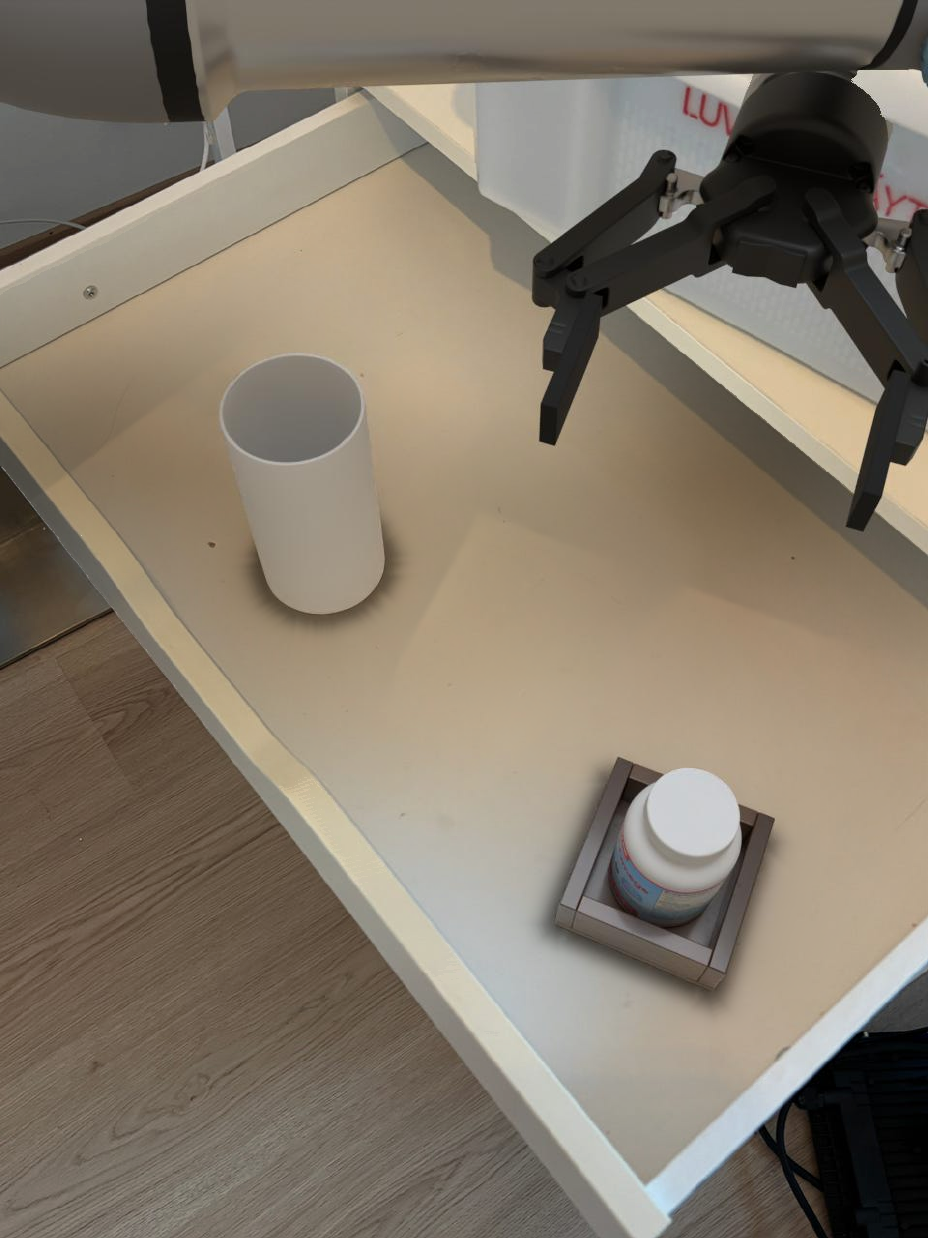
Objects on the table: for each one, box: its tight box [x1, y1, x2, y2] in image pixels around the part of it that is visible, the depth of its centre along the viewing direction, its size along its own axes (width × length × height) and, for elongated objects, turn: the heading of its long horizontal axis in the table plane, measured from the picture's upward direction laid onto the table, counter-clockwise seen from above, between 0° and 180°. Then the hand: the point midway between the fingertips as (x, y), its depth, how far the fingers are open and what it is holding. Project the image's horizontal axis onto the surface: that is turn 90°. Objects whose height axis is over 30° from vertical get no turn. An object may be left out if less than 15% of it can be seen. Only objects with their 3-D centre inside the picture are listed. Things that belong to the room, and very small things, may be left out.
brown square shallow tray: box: [554, 756, 776, 992], centre depth 65 cm, size 9×9×4 cm
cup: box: [218, 352, 386, 615], centre depth 71 cm, size 8×8×16 cm
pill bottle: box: [609, 767, 742, 927], centre depth 61 cm, size 6×6×11 cm
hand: (701, 468), depth 48 cm, fingers open, 13 cm apart
